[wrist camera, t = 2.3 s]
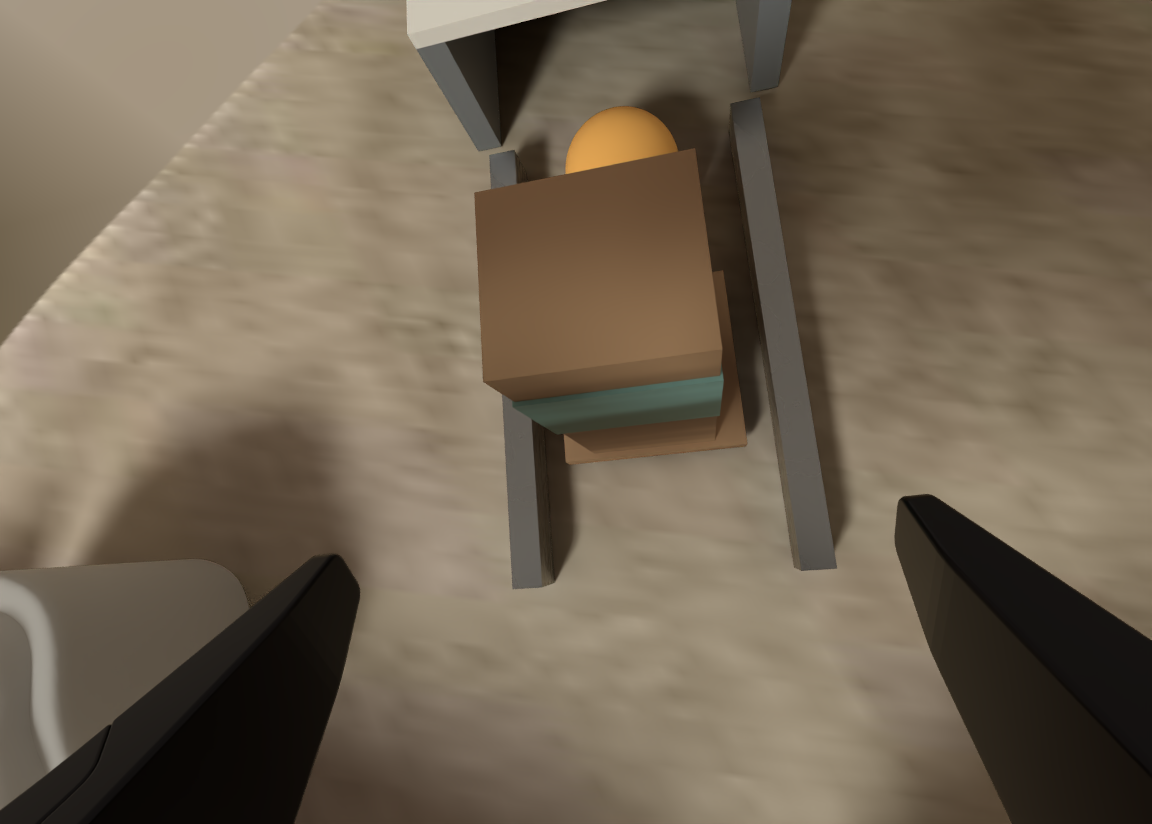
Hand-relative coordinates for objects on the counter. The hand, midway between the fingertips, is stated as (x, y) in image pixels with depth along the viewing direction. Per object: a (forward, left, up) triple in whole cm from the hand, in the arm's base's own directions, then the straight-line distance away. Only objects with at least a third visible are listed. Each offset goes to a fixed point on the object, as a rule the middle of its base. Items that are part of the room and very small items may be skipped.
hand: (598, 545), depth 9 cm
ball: (+13, 0, -9) cm, 16 cm away
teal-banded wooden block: (+6, 0, -11) cm, 12 cm away
